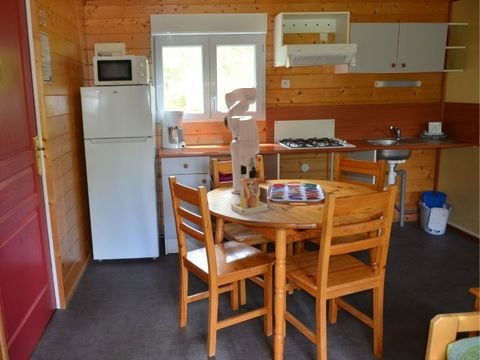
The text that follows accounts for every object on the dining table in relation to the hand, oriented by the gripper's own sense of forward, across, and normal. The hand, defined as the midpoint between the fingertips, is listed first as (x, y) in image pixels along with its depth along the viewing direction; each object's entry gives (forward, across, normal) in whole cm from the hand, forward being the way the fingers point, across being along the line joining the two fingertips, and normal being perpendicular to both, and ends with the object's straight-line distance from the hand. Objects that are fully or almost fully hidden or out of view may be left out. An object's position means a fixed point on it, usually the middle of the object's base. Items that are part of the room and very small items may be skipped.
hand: (248, 176), depth 220 cm
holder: (+18, -10, +8) cm, 22 cm away
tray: (+18, +1, 0) cm, 18 cm away
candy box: (+17, +1, 0) cm, 17 cm away
